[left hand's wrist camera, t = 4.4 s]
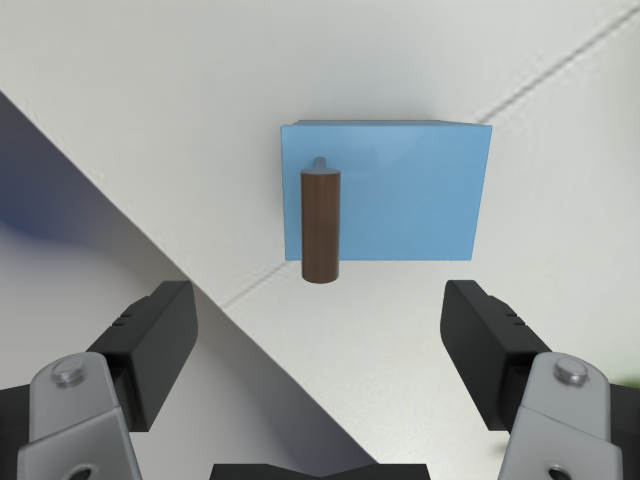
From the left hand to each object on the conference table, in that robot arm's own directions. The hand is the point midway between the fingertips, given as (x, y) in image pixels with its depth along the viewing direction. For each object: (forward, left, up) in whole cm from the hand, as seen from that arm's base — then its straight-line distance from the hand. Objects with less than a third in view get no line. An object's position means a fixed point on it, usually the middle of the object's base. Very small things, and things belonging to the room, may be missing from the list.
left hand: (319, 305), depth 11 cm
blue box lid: (+4, +1, -16) cm, 16 cm away
